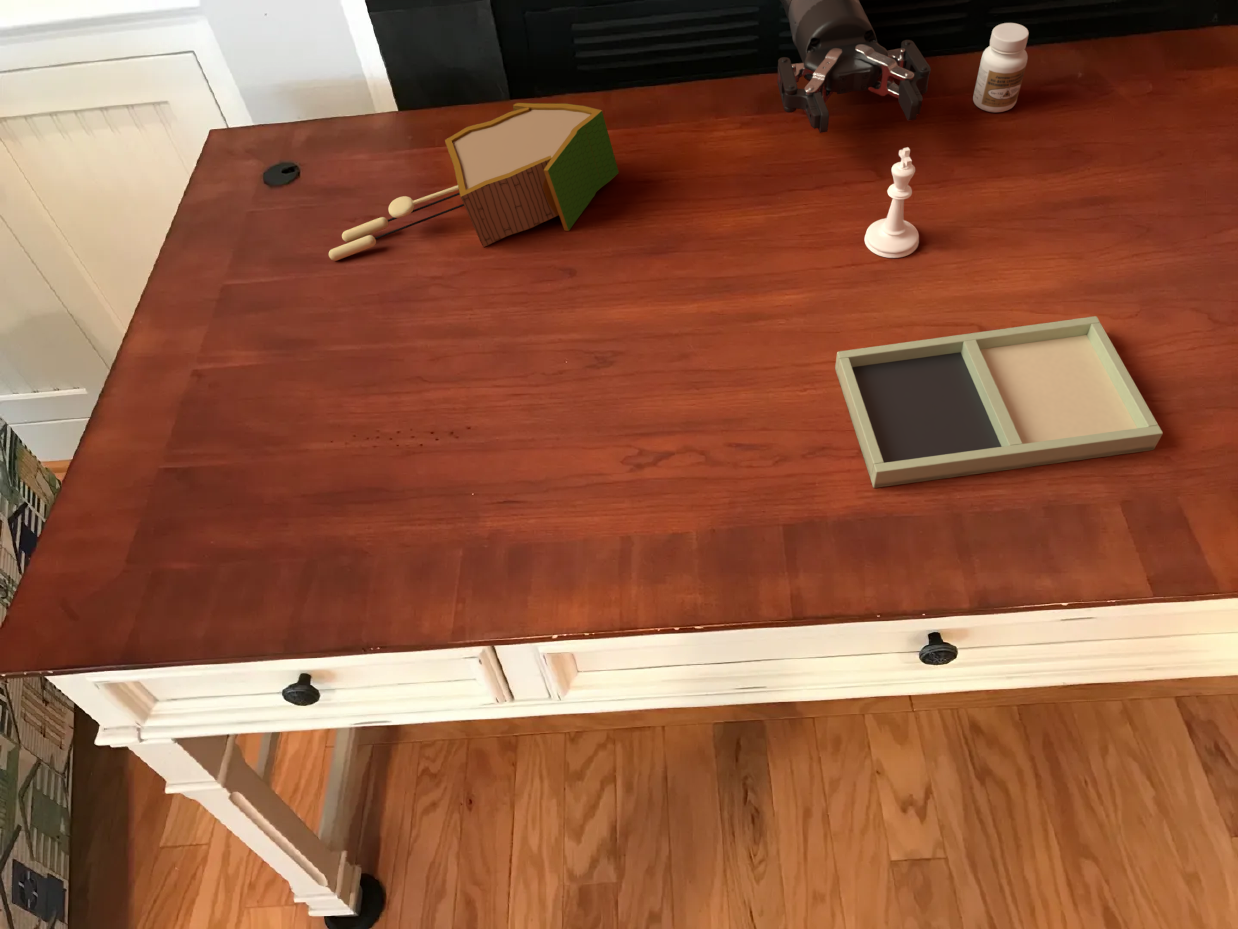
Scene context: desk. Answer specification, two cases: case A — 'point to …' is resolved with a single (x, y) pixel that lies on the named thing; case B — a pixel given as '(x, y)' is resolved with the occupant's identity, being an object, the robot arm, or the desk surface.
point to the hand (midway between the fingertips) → (869, 118)
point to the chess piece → (895, 216)
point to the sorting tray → (993, 402)
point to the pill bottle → (1002, 68)
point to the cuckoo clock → (515, 173)
